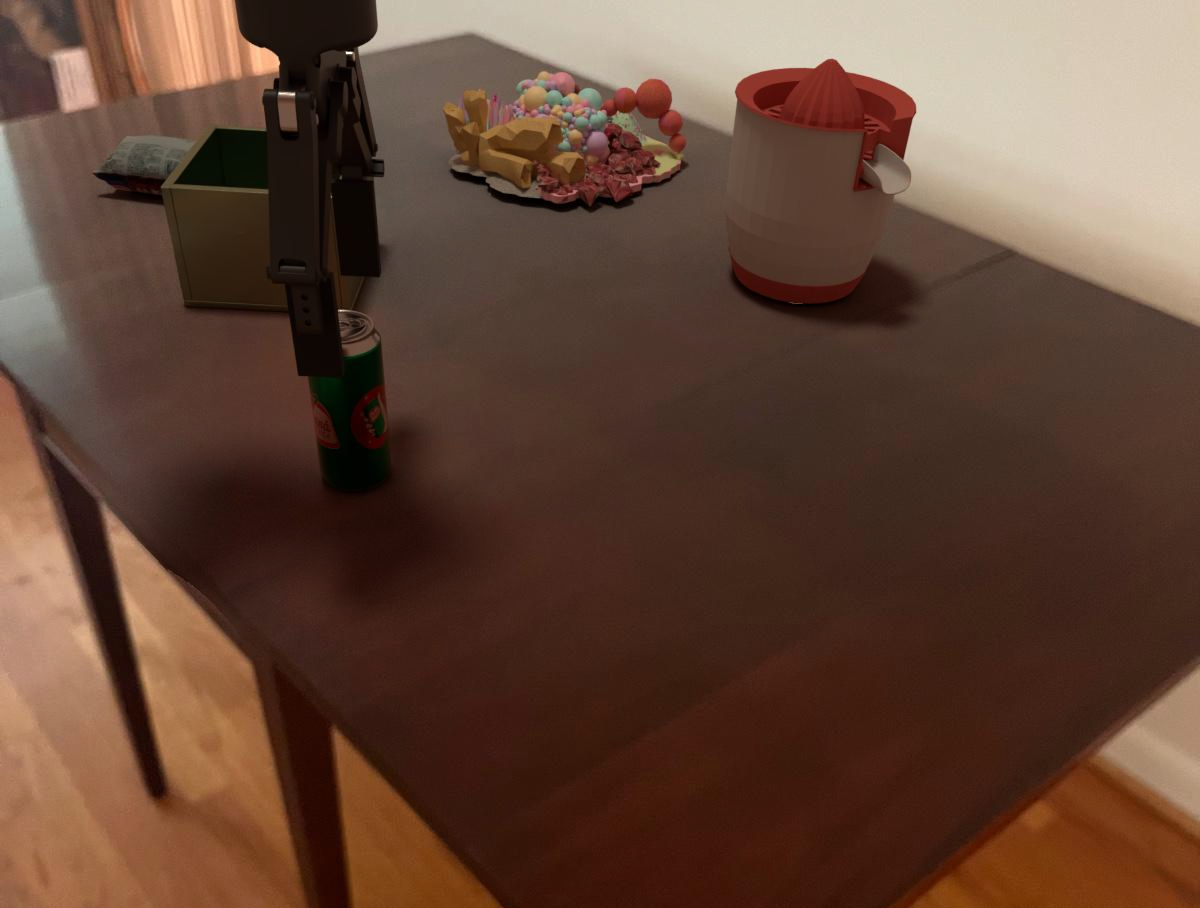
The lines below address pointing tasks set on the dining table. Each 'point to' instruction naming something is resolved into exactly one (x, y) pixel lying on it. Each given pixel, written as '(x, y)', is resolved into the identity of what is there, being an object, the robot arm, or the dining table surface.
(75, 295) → the dining table surface
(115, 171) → the packaged food
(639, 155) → the food platter
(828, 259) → the citrus juicer
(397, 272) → the dining table surface
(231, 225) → the bin
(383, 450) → the soda can
